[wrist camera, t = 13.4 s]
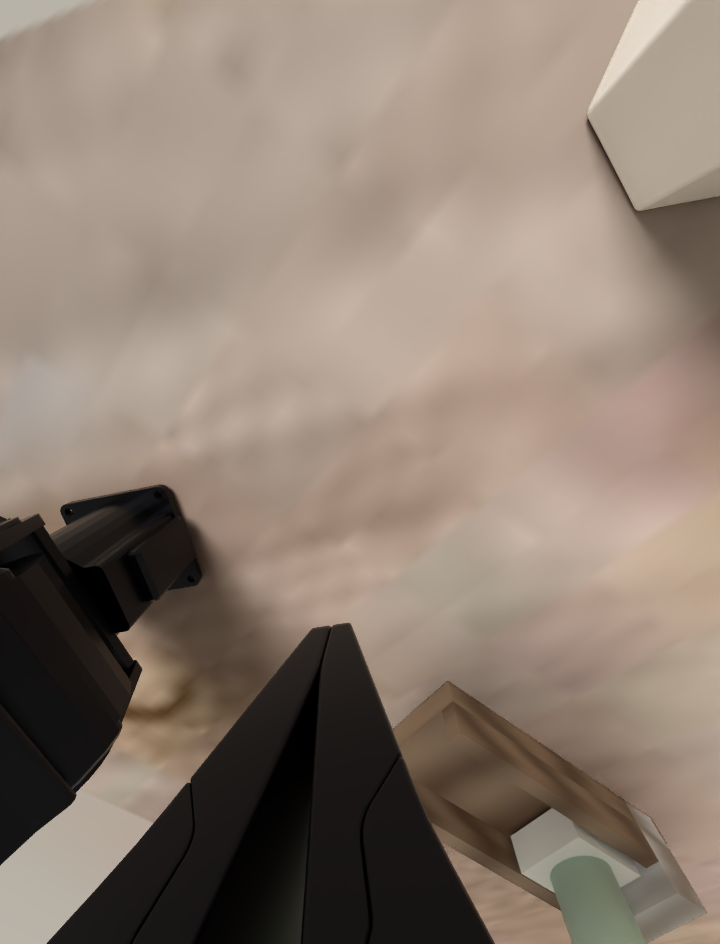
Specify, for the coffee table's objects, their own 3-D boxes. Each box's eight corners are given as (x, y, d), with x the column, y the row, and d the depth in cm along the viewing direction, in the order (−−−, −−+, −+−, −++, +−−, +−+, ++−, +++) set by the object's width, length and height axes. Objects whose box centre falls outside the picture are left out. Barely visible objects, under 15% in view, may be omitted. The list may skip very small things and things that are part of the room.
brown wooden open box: (373, 746, 27) (373, 831, 22) (447, 680, 25) (466, 759, 20) (571, 867, 30) (609, 964, 25) (651, 818, 28) (709, 913, 23)
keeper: (510, 836, 26) (580, 1075, 18) (562, 800, 25) (666, 1038, 16) (567, 870, 27) (660, 1113, 19) (621, 838, 26) (748, 1082, 17)
